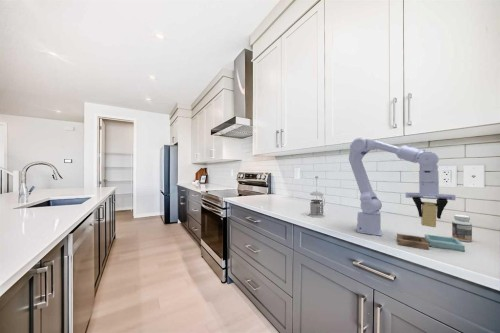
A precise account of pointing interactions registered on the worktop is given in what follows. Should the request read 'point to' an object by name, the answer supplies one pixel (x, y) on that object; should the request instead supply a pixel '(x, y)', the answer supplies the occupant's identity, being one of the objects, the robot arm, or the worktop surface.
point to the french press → (316, 205)
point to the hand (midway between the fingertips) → (429, 217)
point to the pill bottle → (462, 228)
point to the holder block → (412, 241)
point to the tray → (444, 242)
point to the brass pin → (429, 214)
